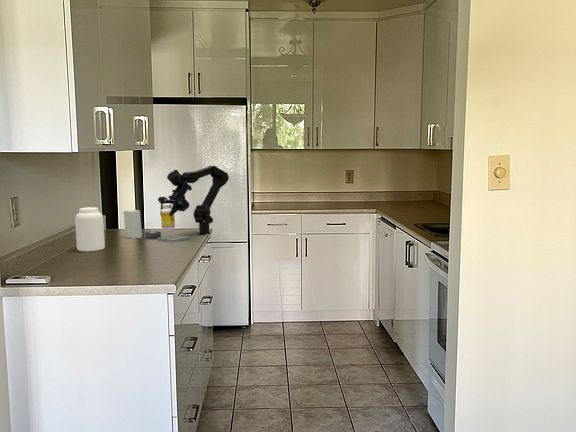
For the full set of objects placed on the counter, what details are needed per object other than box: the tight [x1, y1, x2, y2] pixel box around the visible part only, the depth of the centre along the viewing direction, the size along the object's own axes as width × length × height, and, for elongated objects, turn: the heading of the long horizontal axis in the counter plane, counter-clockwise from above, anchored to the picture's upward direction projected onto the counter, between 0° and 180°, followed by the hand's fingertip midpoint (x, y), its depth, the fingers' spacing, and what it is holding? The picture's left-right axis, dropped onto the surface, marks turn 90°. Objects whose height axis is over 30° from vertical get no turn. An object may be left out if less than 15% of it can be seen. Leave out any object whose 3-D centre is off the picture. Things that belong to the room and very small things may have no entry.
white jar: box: [74, 206, 106, 253], centre depth 256 cm, size 12×12×20 cm
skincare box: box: [123, 209, 143, 240], centre depth 289 cm, size 8×6×15 cm
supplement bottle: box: [160, 203, 176, 230], centre depth 278 cm, size 7×7×13 cm
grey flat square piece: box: [156, 234, 191, 243], centre depth 282 cm, size 12×12×1 cm
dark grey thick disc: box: [144, 230, 162, 240], centre depth 288 cm, size 8×8×3 cm
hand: (165, 215), depth 277 cm, fingers closed on supplement bottle, 7 cm apart
